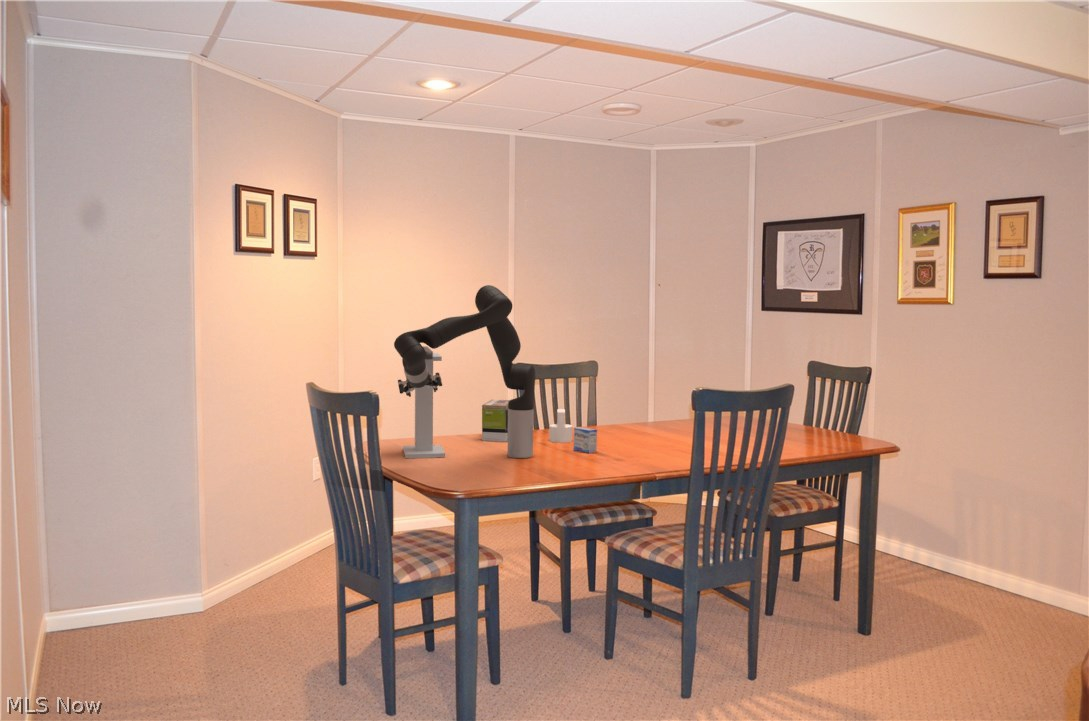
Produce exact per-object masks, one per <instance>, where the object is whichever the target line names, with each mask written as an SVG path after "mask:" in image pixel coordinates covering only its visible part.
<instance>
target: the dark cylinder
mask: <svg viewBox="0 0 1089 721" xmlns="http://www.w3.org/2000/svg"><path fill="white" fill-rule="evenodd" d="M422 347H423V348H424V349H425V351H426V354H427V357H426V359H433V353H434V352H433V350H432V349H431V348H430V347H429V346H428V345H425V346H424V345H422Z"/></svg>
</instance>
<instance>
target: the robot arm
mask: <svg viewBox="0 0 1089 721" xmlns="http://www.w3.org/2000/svg"><path fill="white" fill-rule="evenodd" d="M474 302H475V307H476V309H477V311H478V312H477V313H473V314H469V315H458V316H450V317H446V318H443V319H441V320H439V321H437V322H435V323H433V324H431V325H430V326H427V327H422V328H419V329H415V330H410V331H406V332H403V333H402V334H400V335H398V336H397V337H396V338H395V340H394V342H393V347H394V349H395V350H396V352H397V353H398V354H399V356H400V357H401V360H402V361H401V362H402V366H403V373H404V375H405V378H406V380H402V379H397V384H398V390H399V394H404V393H405V394H406V396H407V397H409V398H411V397H412V393H411V392H413V391H415V389H416V388H421V387H428V388H431V387H433V393H437V391H438V389H439V388H438V387H443V382H442V381H443V380H442V378H441V375H440V372H435V374H433V376H431V375H429V371H428V366H427V364H426V362H425V359H426V357H427V354H426V351H425V349H424V348H423V347H422V346H423V345H422V344H425V346H427V347H428V348H429V349H431V350H432V349H434V350H435V349H438V348H440V347H442V346H444V345H445V344H447V343H449V342H451V341H453V340H455V339H456V338H459V337H461V336H463V335H466V334H468V333H472V332H475V331H477V330H480V329H483V328H485V327H486V330H487V333H488V336H489V339H490V341H491V345H492V347H493V349H494V352H495V354H496V357H497V359H498V360H497V361H498V362H499V366H500V369H501V373H502V378H503V382H504V384H505V387H506V388H507V389H509V390H516V391H517V390H518V391H523V394H521V395H520V396H519V397H515V398H512V399H509V400H510V401H509V402H508V440H507V457H510V458H512V459H513V458H515V459H526V458H532V457H533V456H534V418H535V417H534V415H535V414H534V411H535V410H534V408H535V407H534V406H535V389H536V388H535V387H536V369H535V367H534V365H532V364H529V363H528V364H523V363H514V362H513V361H515V359H516V358H517V356H518V355H519V353H520V351H521V347H522V346H521V341H520V340H521V339H520V337H519V335H518V332H517V330H516V329H515V326H514V325H513V323H512V322H511V321H510V319H509V318H508V317H509V316H510V315H511V312H512V310H513V302H512V300H511V299H510V298H509V297H508V296H506V294H505V293H503V291H501V289H499V288H498V287H496V286H494V285H490V284H489V285H488V284H486V285H483V286H481V287H480V288H479V289H478V290H477V292H476V294H475V298H474Z"/></svg>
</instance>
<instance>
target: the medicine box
mask: <svg viewBox="0 0 1089 721" xmlns="http://www.w3.org/2000/svg"><path fill="white" fill-rule="evenodd" d="M597 444H598V429H595V428H590V427H589V428H588V427H584V426H583V427H582V426H577V427H574V428H573V451H574V452H578V451H580V452H579V453H584V452H586V454H592V452H594V453H596V452H597V448H598V447H597Z"/></svg>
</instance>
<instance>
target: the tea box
mask: <svg viewBox="0 0 1089 721" xmlns="http://www.w3.org/2000/svg"><path fill="white" fill-rule="evenodd" d="M510 400H511V399H491V400H489V401H487V402H485V403H484V404H482V405H481V433H482V434H481V437H482V438H481V440H482V441H483V442H495V441H498V442H499V443H504V442H508V402H509V401H510Z"/></svg>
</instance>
